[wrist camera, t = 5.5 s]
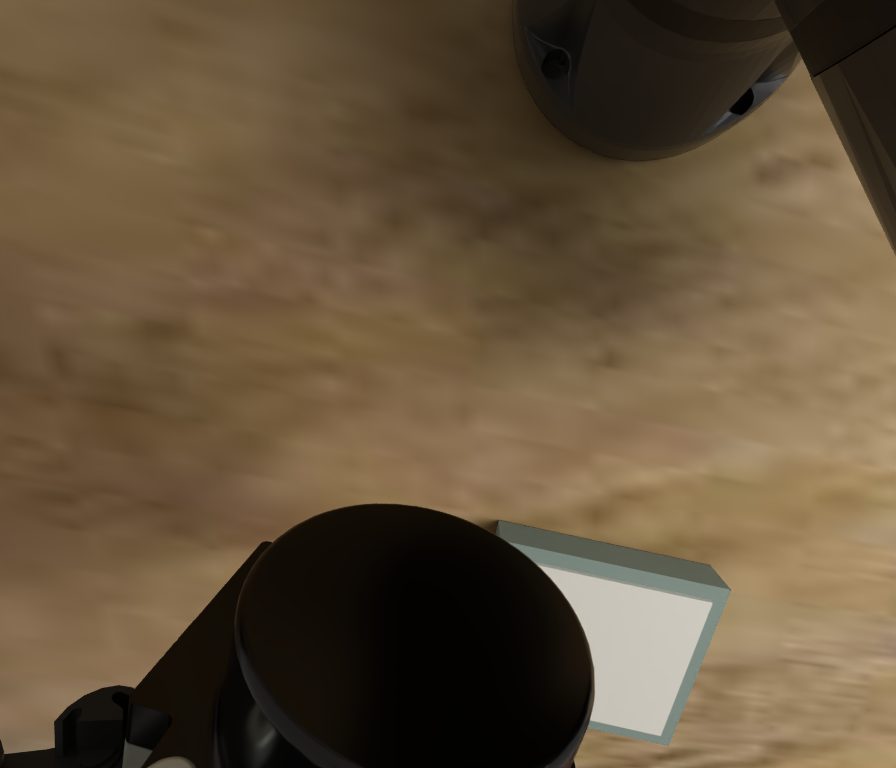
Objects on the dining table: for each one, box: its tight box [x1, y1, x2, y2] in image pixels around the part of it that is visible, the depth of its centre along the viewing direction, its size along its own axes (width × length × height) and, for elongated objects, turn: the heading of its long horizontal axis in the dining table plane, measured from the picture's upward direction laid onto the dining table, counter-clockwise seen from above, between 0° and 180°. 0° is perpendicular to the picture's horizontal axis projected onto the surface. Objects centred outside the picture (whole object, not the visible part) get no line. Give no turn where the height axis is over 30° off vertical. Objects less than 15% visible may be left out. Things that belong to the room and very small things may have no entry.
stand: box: [495, 520, 731, 746], centre depth 30 cm, size 13×15×3 cm
